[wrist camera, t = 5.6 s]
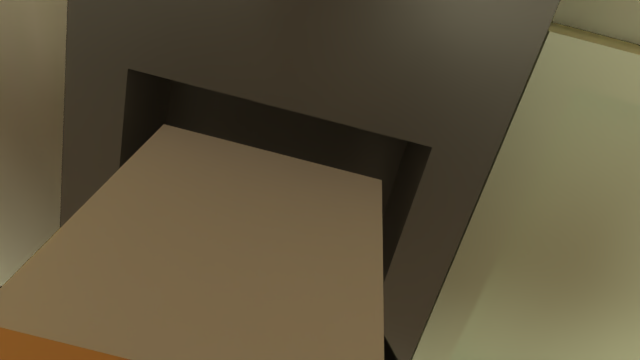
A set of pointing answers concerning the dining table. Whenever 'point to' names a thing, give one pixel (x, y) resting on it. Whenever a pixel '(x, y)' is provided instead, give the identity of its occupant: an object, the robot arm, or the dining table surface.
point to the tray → (554, 219)
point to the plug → (207, 262)
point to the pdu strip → (314, 104)
